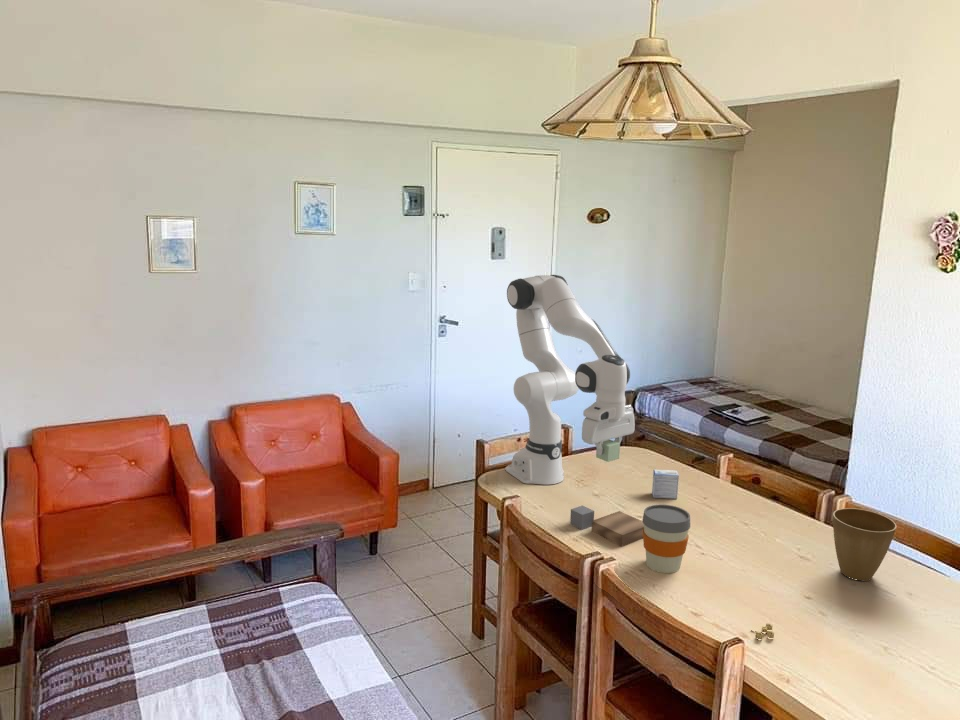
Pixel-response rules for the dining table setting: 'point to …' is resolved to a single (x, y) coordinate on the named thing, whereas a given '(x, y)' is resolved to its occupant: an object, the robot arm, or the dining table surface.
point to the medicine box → (665, 484)
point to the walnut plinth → (618, 528)
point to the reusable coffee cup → (665, 537)
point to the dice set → (764, 629)
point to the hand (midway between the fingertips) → (607, 452)
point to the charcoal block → (581, 517)
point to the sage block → (609, 451)
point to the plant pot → (861, 541)
